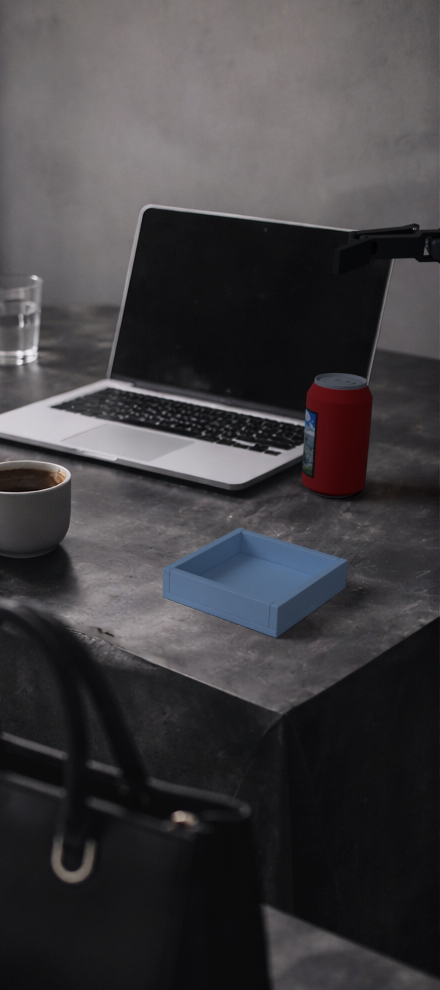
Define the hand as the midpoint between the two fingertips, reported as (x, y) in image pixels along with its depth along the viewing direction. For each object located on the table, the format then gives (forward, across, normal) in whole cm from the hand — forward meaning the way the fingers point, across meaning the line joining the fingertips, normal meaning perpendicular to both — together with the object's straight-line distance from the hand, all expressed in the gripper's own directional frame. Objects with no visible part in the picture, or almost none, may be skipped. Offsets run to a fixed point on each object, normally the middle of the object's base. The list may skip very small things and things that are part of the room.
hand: (392, 276), depth 100 cm
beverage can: (+9, -1, -21) cm, 23 cm away
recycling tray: (+34, -9, -17) cm, 39 cm away
